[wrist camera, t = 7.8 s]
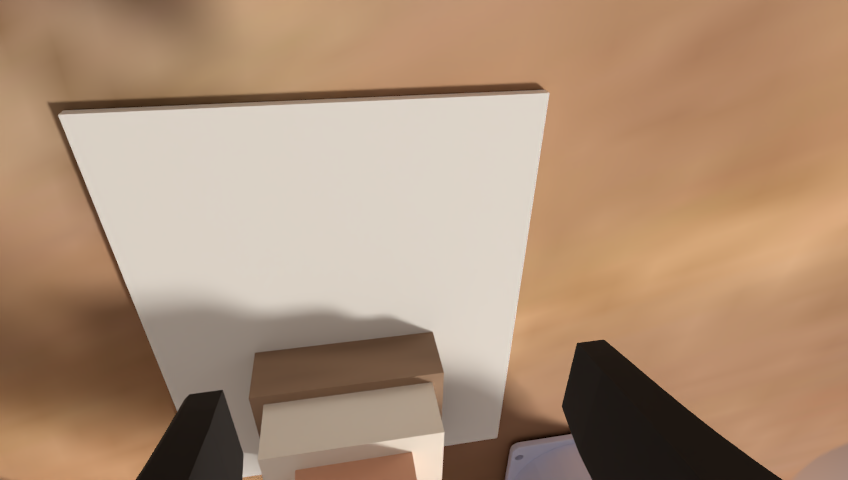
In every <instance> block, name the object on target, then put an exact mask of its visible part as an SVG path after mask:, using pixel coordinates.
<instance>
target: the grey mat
mask: <svg viewBox="0 0 848 480" xmlns="http://www.w3.org/2000/svg"><path fill="white" fill-rule="evenodd" d="M548 99H549V92H548V91H546V90H526V91H502V92H479V93H456V94H433V95H409V96H386V97H363V98H340V99H317V100H293V101H270V102H247V103H224V104H200V105H177V106H154V107H131V108H108V109H84V110H63V111H62V112H61V113H59V114H58V116H59V119H60V121H61V123H62V126H63V128H64V131H65V133H66V136H67V138H68V141H69V143H70V146H71V148H72V151H73V153H74V156H75V158H76V161H77V163H78V166H79V168H80V171H81V173H82V176H83V178H84V181H85V183H86V186H87V188H88V191H89V193H90V196H91V198H92V201H93V203H94V206H95V208H96V211H97V213H98V216H99V218H100V221H101V223H102V226H103V228H104V230H105V233H106V235H107V238H108V240H109V243H110V245H111V248H112V250H113V253H114V255H115V258H116V260H117V263H118V265H119V268H120V270H121V273H122V275H123V278H124V280H125V283H126V285H127V288H128V290H129V293H130V295H131V298H132V300H133V303H134V305H135V308H136V310H137V313H138V315H139V318H140V320H141V323H142V325H143V328H144V330H145V333H146V335H147V338H148V340H149V342H150V345H151V347H152V350H153V352H154V355H155V357H156V360H157V362H158V365H159V367H160V370H161V372H162V375H163V377H164V380H165V382H166V385H167V387H168V390H169V392H170V395H171V397H172V400H173V402H174V405H175V407H176V410H177V411H178V410H179V408H180V406H181V404H182V403H183V401H184V399H185V398H186V397H187V396H188V395H189V394H195V393H203V392H210V391H218V390H223V392H224V395H225V398H226V401H227V404H228V407H229V410H230V414H231V417H232V420H233V423H234V426H235V429H236V432H237V435H238V438H239V441H240V445H241V448H242V451H243V454H244V458H243V475H242V477H249V476H255V475H262V474H261V470H260V467H259V463H258V452H259V443H260V438H259V434H258V431H257V427H256V424H255V420H254V416H253V413H252V409H251V405H250V402H249V392H250V384H251V377H252V370H253V363H254V355H255V353H257V352H266V351H274V350H283V349H291V348H300V347H308V346H316V345H325V344H333V343H342V342H350V341H359V340H367V339H376V338H384V337H393V336H401V335H410V334H418V333H427V332H433V335H434V338H435V342H436V345H437V349H438V353H439V356H440V360H441V364H442V367H443V371H444V383H443V403H442V424H443V428H444V446H449V445H456V444H462V443H468V442H475V441H481V440H488V439H494V438H497V436H498V430H499V423H500V417H501V410H502V403H503V397H504V390H505V383H506V377H507V370H508V364H509V357H510V350H511V344H512V337H513V331H514V324H515V317H516V311H517V304H518V297H519V291H520V284H521V278H522V271H523V264H524V258H525V251H526V245H527V238H528V231H529V225H530V218H531V211H532V205H533V198H534V192H535V185H536V178H537V172H538V165H539V159H540V152H541V145H542V139H543V132H544V125H545V119H546V112H547V106H548Z"/></svg>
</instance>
